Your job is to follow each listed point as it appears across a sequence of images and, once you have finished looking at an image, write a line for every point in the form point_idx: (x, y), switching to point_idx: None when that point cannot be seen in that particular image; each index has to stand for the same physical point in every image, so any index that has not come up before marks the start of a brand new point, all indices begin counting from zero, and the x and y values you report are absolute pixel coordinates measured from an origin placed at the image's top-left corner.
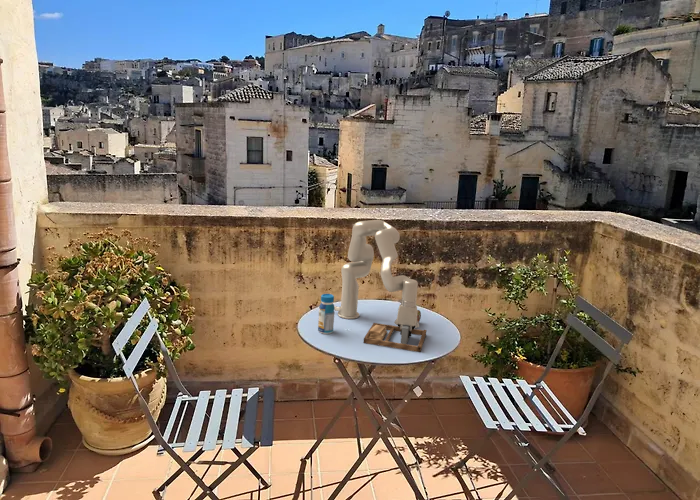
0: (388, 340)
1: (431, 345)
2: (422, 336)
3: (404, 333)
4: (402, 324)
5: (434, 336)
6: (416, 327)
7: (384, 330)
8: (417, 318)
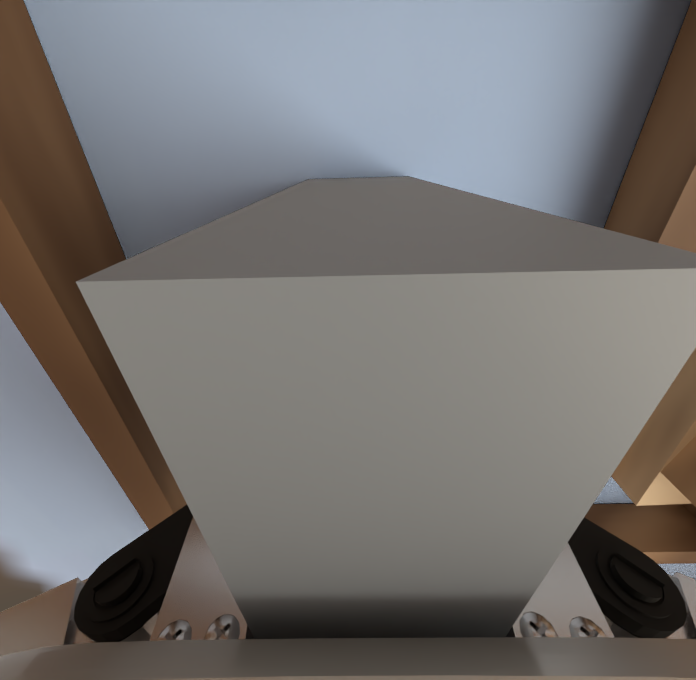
0: (629, 205)
1: (5, 332)
2: (114, 439)
3: (366, 203)
4: (610, 673)
5: (131, 520)
6: (40, 599)
7: (692, 438)
8: None
